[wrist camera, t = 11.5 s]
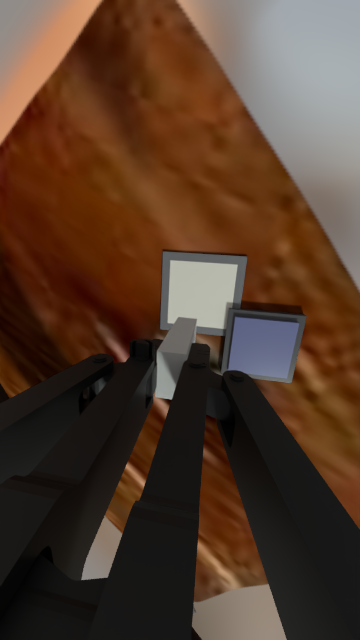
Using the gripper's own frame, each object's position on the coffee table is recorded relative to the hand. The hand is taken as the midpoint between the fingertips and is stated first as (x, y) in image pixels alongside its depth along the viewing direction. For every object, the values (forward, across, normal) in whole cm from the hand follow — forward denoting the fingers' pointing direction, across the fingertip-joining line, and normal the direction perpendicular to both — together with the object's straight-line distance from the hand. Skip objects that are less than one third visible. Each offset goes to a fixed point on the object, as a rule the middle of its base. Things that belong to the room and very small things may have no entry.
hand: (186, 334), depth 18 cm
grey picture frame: (+18, 0, 0) cm, 18 cm away
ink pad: (+18, +10, -7) cm, 22 cm away
